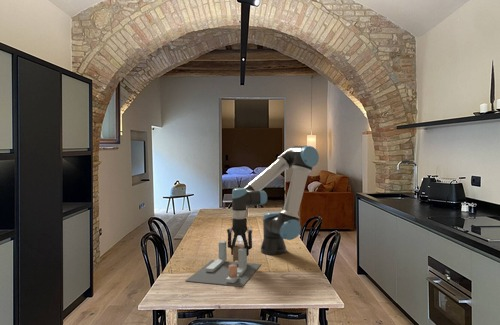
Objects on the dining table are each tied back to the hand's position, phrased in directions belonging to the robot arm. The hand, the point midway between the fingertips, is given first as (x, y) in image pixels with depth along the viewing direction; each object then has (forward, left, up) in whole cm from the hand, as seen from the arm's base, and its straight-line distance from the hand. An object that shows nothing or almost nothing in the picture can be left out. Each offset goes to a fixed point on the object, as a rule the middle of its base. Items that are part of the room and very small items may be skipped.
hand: (240, 261), depth 197 cm
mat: (+13, -3, -2) cm, 14 cm away
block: (0, 0, +1) cm, 1 cm away
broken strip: (+17, +4, -2) cm, 18 cm away
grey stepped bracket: (+5, -11, -2) cm, 12 cm away
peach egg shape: (+23, +4, 0) cm, 23 cm away
